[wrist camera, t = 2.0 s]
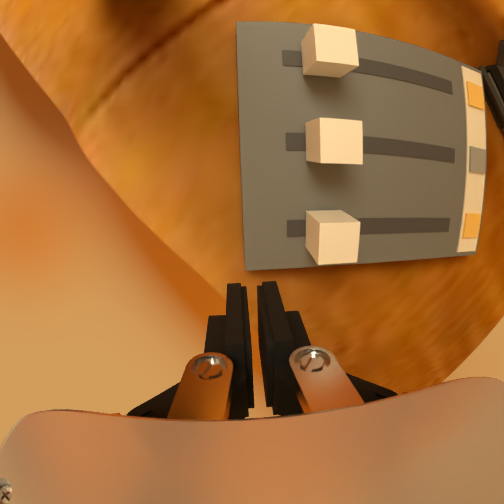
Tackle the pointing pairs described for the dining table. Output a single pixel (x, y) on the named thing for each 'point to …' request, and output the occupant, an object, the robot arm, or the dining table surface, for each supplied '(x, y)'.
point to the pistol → (495, 86)
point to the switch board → (374, 149)
